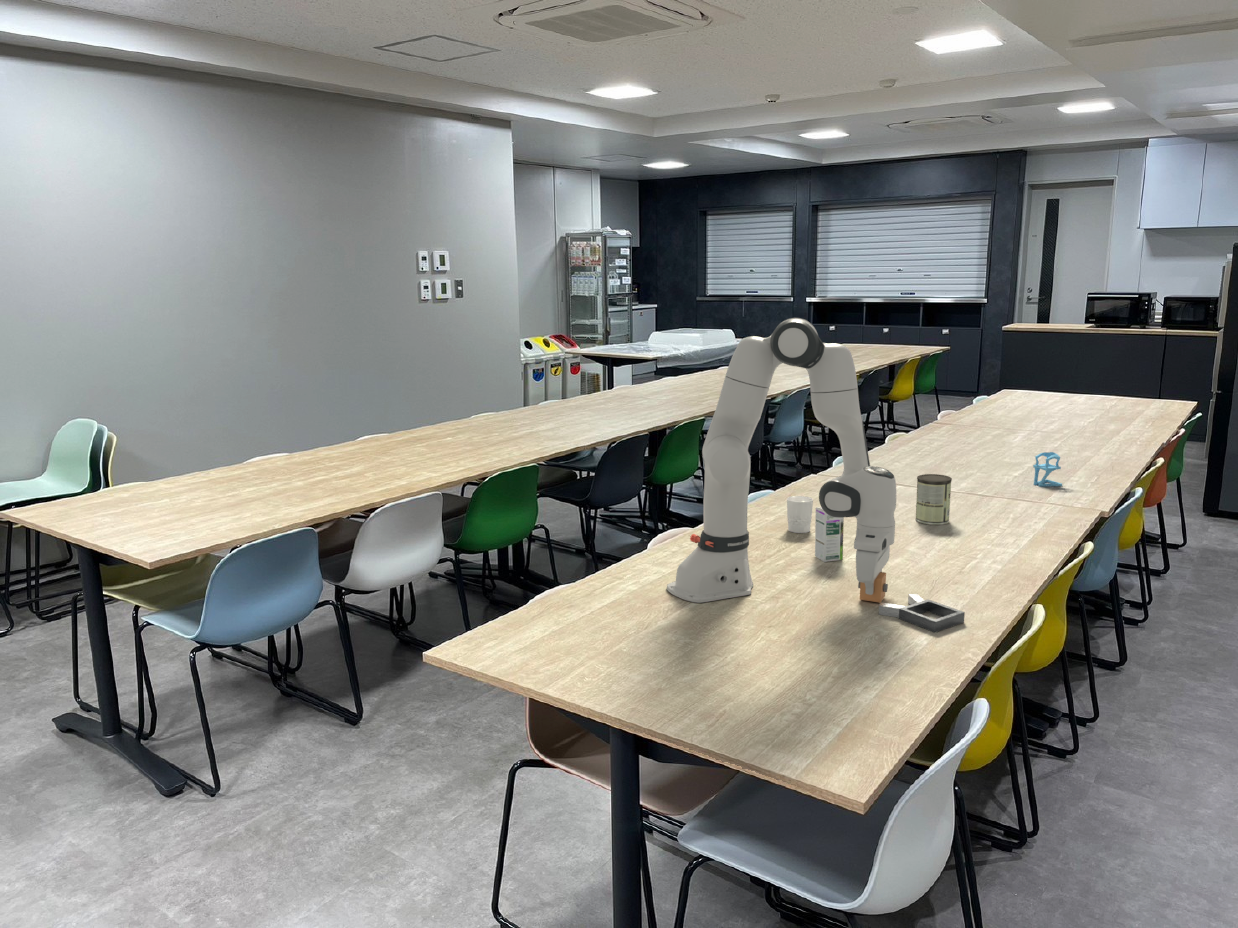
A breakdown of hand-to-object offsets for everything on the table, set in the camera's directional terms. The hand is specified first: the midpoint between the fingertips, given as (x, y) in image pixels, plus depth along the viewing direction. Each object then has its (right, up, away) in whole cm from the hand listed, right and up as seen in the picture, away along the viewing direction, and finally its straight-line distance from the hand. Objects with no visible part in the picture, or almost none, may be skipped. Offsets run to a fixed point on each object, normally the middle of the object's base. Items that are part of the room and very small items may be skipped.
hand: (872, 589), depth 218 cm
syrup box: (-3, +4, +32) cm, 33 cm away
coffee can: (+38, +12, +67) cm, 78 cm away
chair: (+94, +23, +111) cm, 148 cm away
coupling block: (0, -2, 0) cm, 2 cm away
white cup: (-6, +10, +60) cm, 61 cm away
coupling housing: (+8, -5, -11) cm, 15 cm away
